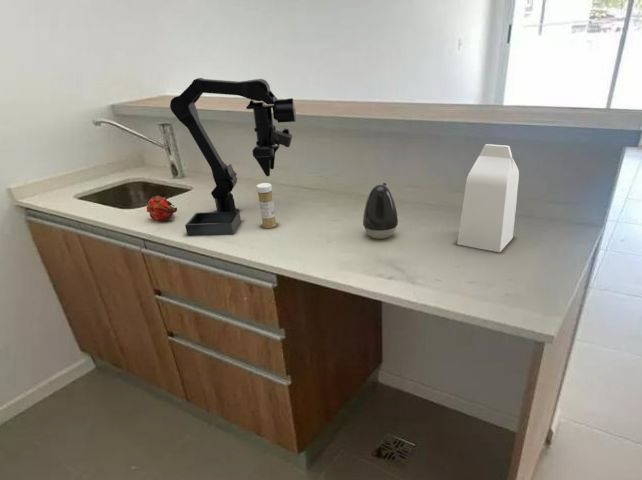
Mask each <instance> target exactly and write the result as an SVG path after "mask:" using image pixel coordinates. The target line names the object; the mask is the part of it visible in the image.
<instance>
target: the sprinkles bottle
mask: <svg viewBox="0 0 642 480" xmlns="http://www.w3.org/2000/svg"><path fill="white" fill-rule="evenodd" d="M256 192H257V194H258V202H259V210H260V217H261V221H262V227H263V228H265V229H272V228H275V227H276V226H277V225H278V224H277V221H276V211H275V210H276V209H275V203H274V198H273V186H272V183H269V182H261V183H258V184H257V185H256Z"/></svg>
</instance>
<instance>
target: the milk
mask: <svg viewBox="0 0 642 480" xmlns="http://www.w3.org/2000/svg"><path fill="white" fill-rule="evenodd" d="M519 181H520V172H519V167H518V166H517V164H516V161H515V159H514V157H513V153H512V150H511V146H510V145H503V144H492V143H486V144H484V146H483V148H482V149H481V151H480V153H479V155H478V157H477V158H476V160H475V162H474V164H473V166H472V167H471V169H470V171H469V172H468V175H467V178H466V182H465V187H464V196H463V201H462V207H461V208H462V209H461V216H460V223H459V230H458V236H457V242H456V245H459V246H463V247H469V248H475V249H481V250H485V251H490V252H496V253H501V252H502V251H503V250H504V249H505V247H506V246H507V245H508V244H509V243H510V242H511V241H512V240H513V238H514V229H515V220H516V209H517V201H518V189H519Z"/></svg>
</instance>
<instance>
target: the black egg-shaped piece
mask: <svg viewBox="0 0 642 480" xmlns="http://www.w3.org/2000/svg"><path fill="white" fill-rule="evenodd" d="M362 216H363V218H362V226H363V228H364V230H365V233H366V234H367V235H368V236H369V237H371V238H373V239H377V240H382V239H388V238H389V237H391V236H393V235H394V233H395V232H396V230H397V227H398V225H399V219H398V218H399V217H398V211H397V207H396V202H395V199H394V196H393V194H392V191H391V190H390V189H389V187H388V186H387V183H386V182H383V183H382V184H376V185H374V186H373V187H372V188H371V190H370V192H369V193H368V196H367V198H366V203H365V207H364V211H363V215H362Z"/></svg>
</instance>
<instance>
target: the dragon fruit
mask: <svg viewBox="0 0 642 480" xmlns="http://www.w3.org/2000/svg"><path fill="white" fill-rule="evenodd" d="M177 211H178V207H175V205H173V204H172V202H171V201H170V200H168V198H166V197H165V196H164V197H162V196H160V195H155V196H152V197H151V198H150V199H149V200H148V202H147V206H146V212H147V213H149V216H150V218H151V219H152V220H153V221H154V220H156V219H157V220H158V221H160V222H164V223H165V222H168V220H167V219H169V218H171V219H172V218H173V217H174V216H175V215H174V213H176V212H177Z"/></svg>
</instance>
